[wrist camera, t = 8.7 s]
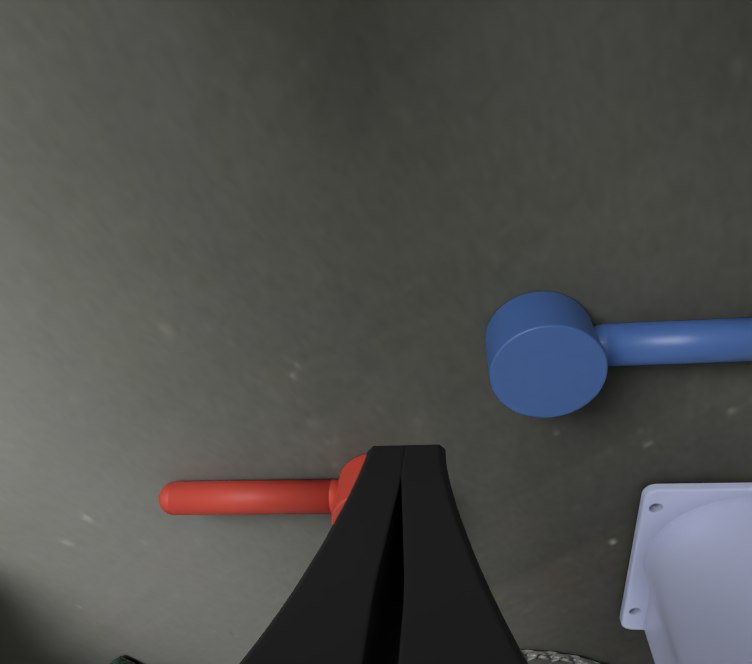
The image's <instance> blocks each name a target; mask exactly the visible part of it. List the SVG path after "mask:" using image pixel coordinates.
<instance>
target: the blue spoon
mask: <svg viewBox="0 0 752 664" xmlns="http://www.w3.org/2000/svg"><path fill="white" fill-rule="evenodd" d="M485 346H486V354H487V362H488V370H489V377H490V383H491V387H492V389H493V391H494V393H495V395H496V396H497V398H498V399H499V400H500V401H501V402H502V403H503V404H504V405H505V406H507V407H508V408H510V409H511V410H513V411H515V412H517V413H520V414H523V415H526V416H531V417H538V418H548V417H556V416H561V415H565V414H568V413H571V412H574V411H576V410H578V409H580V408H581V407H583V406H585V405H586V404H587V403H589V402H590V401H591V400H592V399H593V398H594V397H595V396H596V395H597V394H598V392H599V391H600V390H601V388H602V386H603V385H604V382H605V379H606V376H607V371H608V366H632V365H659V364H687V363H715V362H742V361H752V317H747V318H725V319H703V320H681V321H660V322H638V323H616V324H599V325H595V326H593V324H592V322H591V319H590V317H589V315H588V313H587V312H586V310H585V309H584V308H583V307H582V306H581V305H580V304H579V303H578V302H576V301H575V300H574V299H572V298H570V297H568V296H565V295H563V294H559V293H555V292H548V291H539V292H531V293H527V294H523V295H520V296H518V297H516V298H514V299H512V300H510V301H508V302H507V303H505V304H504V305H503V306H502V307H500V308H499V309H498V310H497V311H496V313H495V314H494V315H493V317H492V318H491V320H490V322H489V324H488V326H487V329H486V333H485Z"/></svg>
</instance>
